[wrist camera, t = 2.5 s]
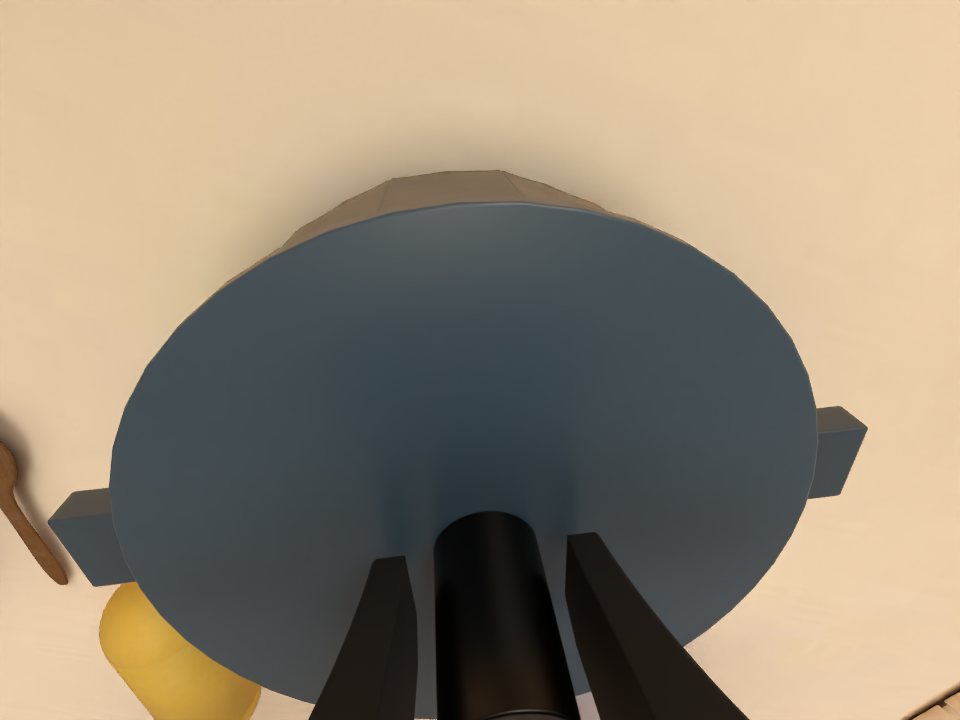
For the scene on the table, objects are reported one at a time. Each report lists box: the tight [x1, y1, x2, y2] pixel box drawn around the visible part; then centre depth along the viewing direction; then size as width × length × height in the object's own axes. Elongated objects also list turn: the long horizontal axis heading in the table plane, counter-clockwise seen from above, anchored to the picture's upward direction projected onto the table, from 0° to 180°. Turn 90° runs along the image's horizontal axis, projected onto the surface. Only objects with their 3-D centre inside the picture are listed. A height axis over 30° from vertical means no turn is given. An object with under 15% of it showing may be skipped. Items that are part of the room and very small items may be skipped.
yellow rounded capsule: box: [99, 582, 261, 720], centre depth 20 cm, size 9×4×4 cm, turn 3°
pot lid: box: [109, 196, 818, 720], centre depth 10 cm, size 16×16×5 cm
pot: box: [48, 170, 868, 587], centre depth 14 cm, size 15×20×6 cm
